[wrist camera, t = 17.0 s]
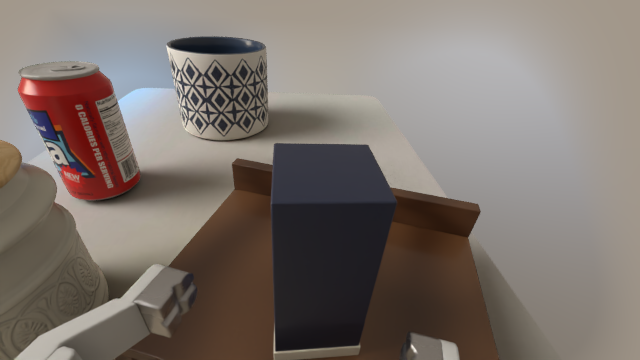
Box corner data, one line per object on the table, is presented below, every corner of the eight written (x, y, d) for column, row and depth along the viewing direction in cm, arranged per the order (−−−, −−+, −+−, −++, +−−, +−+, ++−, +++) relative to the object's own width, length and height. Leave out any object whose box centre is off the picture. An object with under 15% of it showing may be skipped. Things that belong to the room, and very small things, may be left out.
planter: (272, 111, 64) (271, 39, 56) (262, 144, 51) (258, 57, 43) (198, 107, 63) (186, 34, 55) (169, 140, 50) (147, 49, 42)
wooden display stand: (450, 263, 31) (478, 203, 27) (489, 503, 17) (566, 459, 12) (243, 217, 35) (237, 158, 31) (127, 378, 21) (83, 310, 16)
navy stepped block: (333, 229, 27) (349, 104, 21) (358, 355, 18) (401, 203, 12) (277, 230, 27) (274, 102, 20) (273, 361, 18) (267, 204, 11)
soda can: (146, 194, 38) (107, 74, 29) (70, 213, 34) (0, 81, 25) (138, 166, 43) (104, 57, 35) (72, 179, 39) (15, 61, 31)
